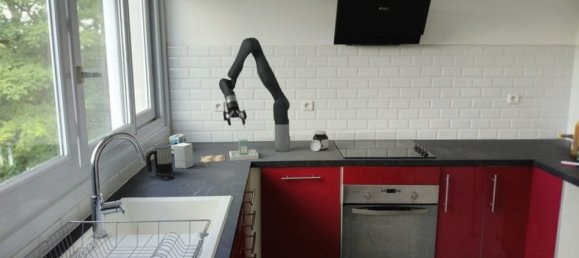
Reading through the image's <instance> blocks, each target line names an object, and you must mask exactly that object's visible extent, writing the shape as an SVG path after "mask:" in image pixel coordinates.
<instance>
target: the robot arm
mask: <svg viewBox="0 0 579 258" xmlns="http://www.w3.org/2000/svg"><path fill="white" fill-rule="evenodd" d="M250 54H251V55H252V57H253V58H254V61H255V64H256V72H257V76H258V77H259V78H258V79H259V80H260V82H261V83H262V85H263V86H264V87H265V89H266V90H267V91H268V92H269V94H270V95H271V96H272V98H273V101H274V102H273V105H272V113H273V120H274V143H275V144H274V148H275V149H274V150H275V152H279V153H284V152H285V153H286V152H290V151H291V135H290V119H289V113H288V112H289V110H290V107H291V103H290V101H289V99H288V98H287V97H286V95H285V93H284V91H283V90H282V88H281V86H280V84H279V81H278V79H277V76H276V74H275V73H274V71H273V69H272V67H271V65H270V63H269V61H268V60H267V57H266V55H265V53H264V50H263V48H262V45H261V43H260V41H259V39H258V38H256V37H245V38H244V39H243V40H242V42H241V43H240V47H239V50H238V52H237V54H236V57H235V59H234V62H233V63H232V65H231V67H230V68H229V70H228V71H227V77H228V78H224V77H223V78H221V79H220V80H219V83H218V87H219V89H220V90H221V93H222V94H223V96H224V100H225V107H226V110H227V111H226V110H223V112H222V116H223V120H224V122H227V125H228V126H229V127H230V126H232V121H231V119H235V118H236V119H237V118H238V119H240V120H241V123H242V126H244V125H245V124H246V120H247V117H248V115H247V112H246V110H245V109H243V110H240V105H239V103H238V102H239V101H238V99H237V97H236V92H235V88H236V86H237V81H238V79H239V76H240V74H241V73H242V71H243V69H244V64H245V61H246V60H247V58H248V57H249V56H250ZM227 115H228V116H227Z"/></svg>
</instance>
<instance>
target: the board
mask: <svg viewBox="0 0 579 258" xmlns="http://www.w3.org/2000/svg"><path fill="white" fill-rule="evenodd" d="M226 159H227V158H226V157H225V154H218V155H217V154H215V155H203V156H201V155H200V164H201V165H202V164H210V163H215V162H216V163H217V162H218V163H219V162H226V161H227V160H226Z"/></svg>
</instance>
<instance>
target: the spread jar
mask: <svg viewBox="0 0 579 258" xmlns="http://www.w3.org/2000/svg"><path fill="white" fill-rule="evenodd" d="M314 133H315V134H314V135H313V137H312V141H311V142H310V147H309V148H310V149H311V151H312V152H319V151H325V150H327V149H328V148H329V145H330V144H329V137H328V135H327V131H326V130H315V132H314Z"/></svg>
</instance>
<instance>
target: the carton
mask: <svg viewBox="0 0 579 258" xmlns="http://www.w3.org/2000/svg"><path fill="white" fill-rule="evenodd" d="M248 150H249V140H248V139H246V138H245V139H238V151H239V156H240V155H248Z"/></svg>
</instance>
